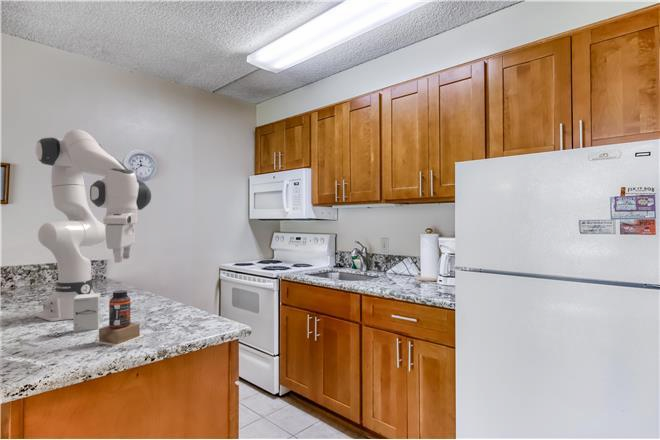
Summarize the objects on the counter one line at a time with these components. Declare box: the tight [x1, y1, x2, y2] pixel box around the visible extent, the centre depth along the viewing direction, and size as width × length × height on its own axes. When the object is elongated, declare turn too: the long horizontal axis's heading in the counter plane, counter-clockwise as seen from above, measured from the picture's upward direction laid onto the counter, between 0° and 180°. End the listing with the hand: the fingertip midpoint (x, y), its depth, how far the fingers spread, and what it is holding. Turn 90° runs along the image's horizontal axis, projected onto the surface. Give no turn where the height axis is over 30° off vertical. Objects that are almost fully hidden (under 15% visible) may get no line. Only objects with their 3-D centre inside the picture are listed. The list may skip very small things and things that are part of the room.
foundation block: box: [98, 322, 141, 344], centre depth 114 cm, size 8×8×4 cm
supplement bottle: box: [108, 289, 132, 328], centre depth 115 cm, size 6×6×11 cm
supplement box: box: [72, 292, 102, 334], centre depth 126 cm, size 7×7×13 cm
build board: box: [93, 334, 145, 347], centre depth 116 cm, size 18×14×1 cm
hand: (122, 260), depth 116 cm, fingers open, 8 cm apart
